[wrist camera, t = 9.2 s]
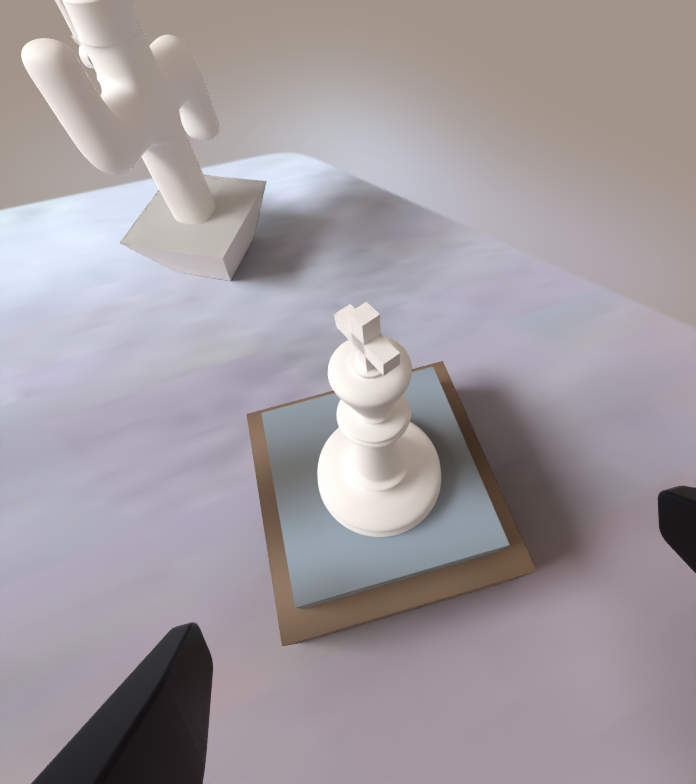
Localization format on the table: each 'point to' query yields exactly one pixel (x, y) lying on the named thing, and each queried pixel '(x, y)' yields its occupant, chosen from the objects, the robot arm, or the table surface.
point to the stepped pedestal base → (378, 554)
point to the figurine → (148, 133)
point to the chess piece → (375, 435)
